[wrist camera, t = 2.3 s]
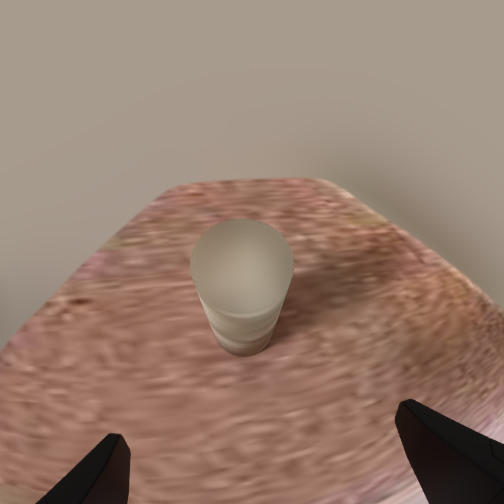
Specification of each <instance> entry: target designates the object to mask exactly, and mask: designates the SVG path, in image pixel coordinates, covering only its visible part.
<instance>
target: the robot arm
mask: <svg viewBox="0 0 504 504" xmlns="http://www.w3.org/2000/svg"><path fill="white" fill-rule="evenodd" d="M395 424H396V427H397V430H398V433H399V436H400V438H401V441H402V444H403V447H404V450H405V453H406V456H407V458H408V460H409V462H410V465H411V467H412V469H413V471H414V473H415V475H416V477H417V479H418V481H419V483H420V485H421V487H422V490H423V492H424V494H425V496H426V498H427V500H428V503H429V504H504V444H502V443H500V442H498V441H495V440H493V439H491V438H489V437H487V436H485V435H483V434H481V433H478V432H476V431H474V430H472V429H470V428H468V427H466V426H464V425H462V424H460V423H458V422H456V421H454V420H452V419H450V418H448V417H446V416H444V415H442V414H440V413H438V412H436V411H434V410H433V409H431V408H429V407H427V406H425V405H423V404H421V403H419V402H417V401H415V400H413V399H408V400H405V401H402V402H401V403H400V404H399V407H398V410H397V413H396V416H395ZM130 457H131V453H130V449H129V447H128V445H127V443H126V441H125V439H124V438H123V436H122V435H121V434H115V433H110V434H108V435H107V436H106V437H105V438H104V439H103V440H102V441H101V442H100V443H99V444H98V445H97V446H96V447H95V448H94V449H92V450H91V451H90V452H89V453H88V454H87V455H86V456H85V457H84V458H83V459H82V460H81V461H80V462H79V463H78V464H77V465H76V466H75V467H74V468H73V469H72V470H71V471H70V472H69V473H68V474H67V475H66V476H64V477H63V478H62V479H61V480H60V481H59V482H58V483H57V484H56V485H55V486H54V487H53V488H52V489H51V490H50V491H49V492H48V493H46V495H44V496H43V497H42V498H41V499H40V500H39V501H38V502H37V503H35V504H127V502H128V495H129V478H130Z"/></svg>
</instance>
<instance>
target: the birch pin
mask: <svg viewBox="0 0 504 504" xmlns="http://www.w3.org/2000/svg"><path fill="white" fill-rule="evenodd" d="M190 270H191V275H192V278H193V281H194V284H195V287H196V289H197V292H198V295H199V297H200V300H201V302H202V305H203V307H204V310H205V313H206V315H207V318H208V320H209V323H210V325H211V328H212V330H213V332H214V335H215V337H216V340H217V342H218V343H219V345H220V346H221V347H222V348H223V349H224V350H225V351H226V352H228V353H230V354H232V355H235V356H240V357H247V356H252V355H255V354H257V353H259V352H260V351H262V350H263V349H264V348H265V347H266V346H267V345H268V343H269V341H270V339H271V337H272V334H273V331H274V328H275V325H276V323H277V320H278V317H279V314H280V311H281V308H282V305H283V303H284V300H285V297H286V294H287V291H288V288H289V285H290V282H291V279H292V276H293V271H294V259H293V254H292V251H291V248H290V246H289V244H288V242H287V241H286V239H285V238H284V237H283V236H282V235H281V234H280V233H279V232H278V231H277V230H276V229H274V228H273V227H271V226H270V225H268V224H266V223H263V222H260V221H257V220H253V219H232V220H227V221H224V222H221V223H219V224H217V225H215V226H213V227H212V228H210V229H209V230H207V231H206V232H205V233H204V234H203V235H202V236H201V237H200V239H199V240H198V241H197V243H196V245H195V247H194V249H193V251H192V255H191V261H190Z"/></svg>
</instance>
